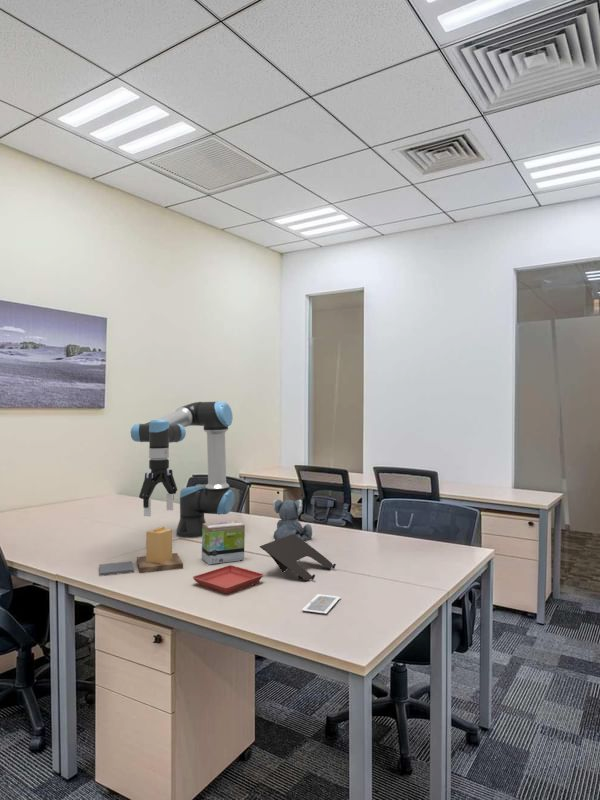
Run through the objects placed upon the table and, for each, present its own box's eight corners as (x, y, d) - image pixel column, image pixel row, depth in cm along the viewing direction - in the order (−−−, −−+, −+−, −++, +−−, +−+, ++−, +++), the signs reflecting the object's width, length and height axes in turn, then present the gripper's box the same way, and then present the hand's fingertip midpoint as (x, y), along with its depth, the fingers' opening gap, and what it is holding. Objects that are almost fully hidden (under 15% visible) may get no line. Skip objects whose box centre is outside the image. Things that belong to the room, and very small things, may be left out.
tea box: (209, 565, 211) (209, 527, 211) (201, 559, 220) (201, 523, 220) (245, 560, 218) (245, 523, 218) (236, 554, 227) (236, 519, 227)
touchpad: (340, 600, 173) (340, 593, 174) (326, 617, 159) (326, 609, 160) (317, 597, 176) (317, 590, 176) (301, 613, 162) (301, 606, 162)
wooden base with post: (177, 557, 222) (177, 531, 222) (183, 568, 207) (183, 539, 207) (136, 561, 216) (136, 534, 217) (139, 573, 201) (139, 543, 202)
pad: (131, 563, 214) (131, 561, 214) (133, 572, 203) (133, 569, 203) (99, 567, 210) (99, 564, 210) (99, 576, 198) (99, 573, 198)
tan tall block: (157, 556, 216) (157, 525, 217) (172, 558, 214) (172, 527, 214) (146, 561, 210) (146, 529, 210) (160, 563, 207) (160, 530, 207)
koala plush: (314, 538, 255) (314, 496, 255) (299, 547, 239) (298, 502, 239) (281, 534, 262) (281, 494, 262) (264, 543, 246) (264, 500, 246)
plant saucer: (226, 597, 176) (226, 587, 176) (191, 585, 188) (191, 576, 188) (264, 583, 190) (264, 574, 190) (230, 573, 202) (230, 564, 202)
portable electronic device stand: (299, 599, 190) (309, 578, 188) (252, 561, 201) (261, 541, 199) (331, 581, 209) (340, 562, 207) (286, 548, 220) (295, 529, 218)
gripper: (145, 461, 200) (145, 519, 199) (186, 456, 222) (185, 508, 222) (129, 461, 203) (129, 518, 202) (171, 456, 225) (171, 507, 225)
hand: (158, 513), depth 212 cm, fingers open, 13 cm apart
